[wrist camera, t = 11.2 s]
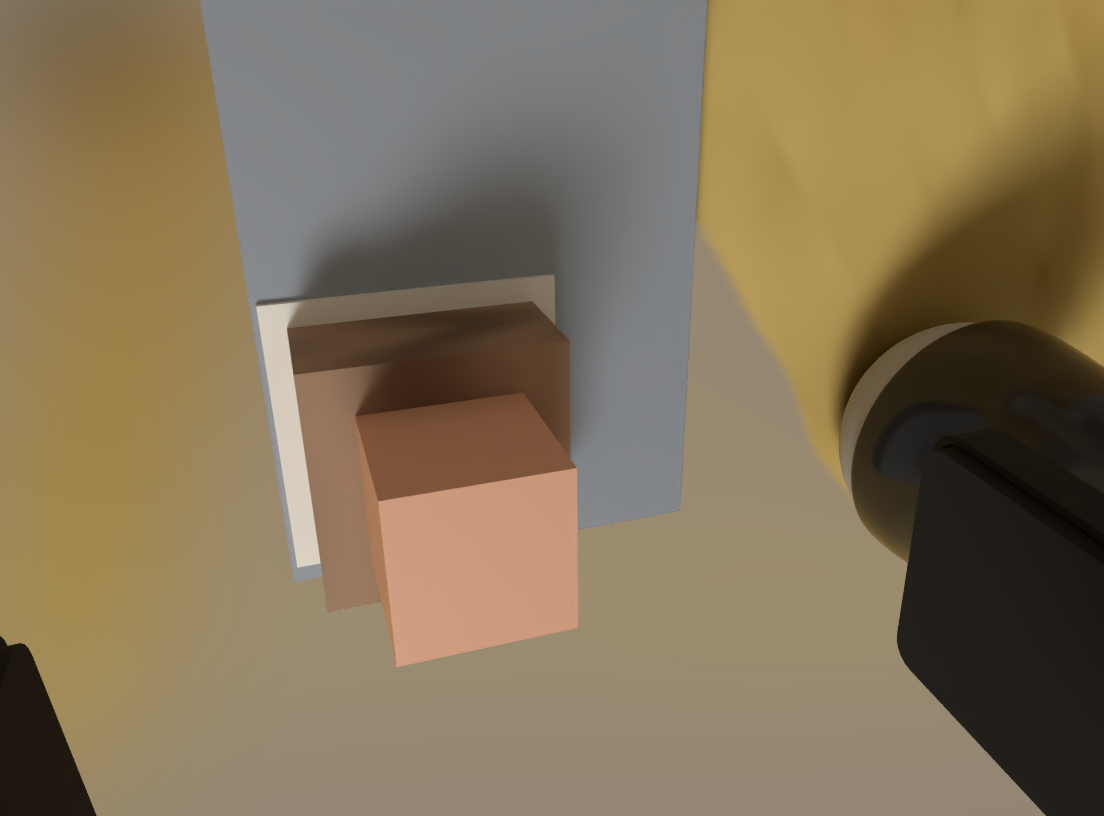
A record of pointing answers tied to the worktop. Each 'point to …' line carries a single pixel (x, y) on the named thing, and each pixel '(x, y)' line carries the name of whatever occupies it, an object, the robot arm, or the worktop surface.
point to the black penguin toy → (965, 412)
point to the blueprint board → (474, 200)
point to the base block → (408, 404)
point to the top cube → (469, 525)
